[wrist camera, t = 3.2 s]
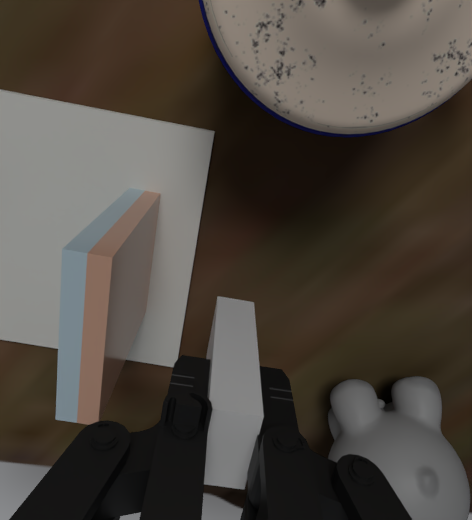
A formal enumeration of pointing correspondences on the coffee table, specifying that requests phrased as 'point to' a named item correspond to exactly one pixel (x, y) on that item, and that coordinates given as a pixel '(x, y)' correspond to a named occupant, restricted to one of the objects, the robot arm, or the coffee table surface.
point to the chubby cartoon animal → (402, 444)
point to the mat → (93, 210)
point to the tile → (103, 302)
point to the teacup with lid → (344, 58)
